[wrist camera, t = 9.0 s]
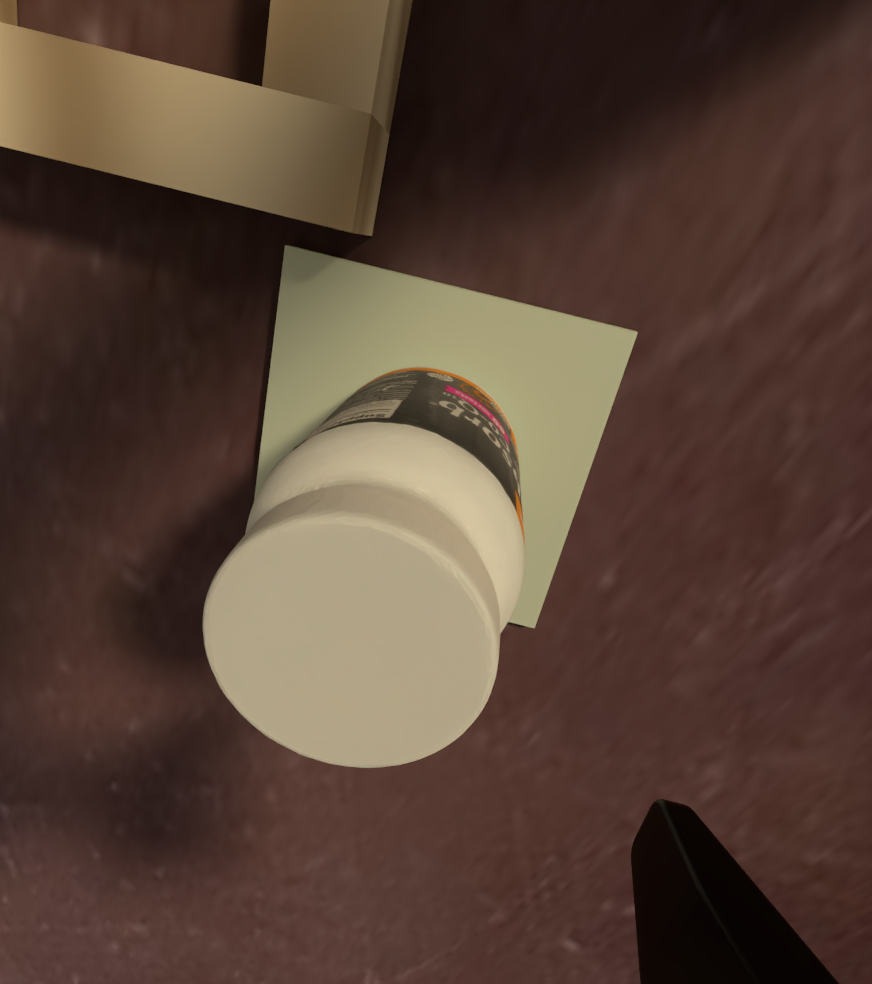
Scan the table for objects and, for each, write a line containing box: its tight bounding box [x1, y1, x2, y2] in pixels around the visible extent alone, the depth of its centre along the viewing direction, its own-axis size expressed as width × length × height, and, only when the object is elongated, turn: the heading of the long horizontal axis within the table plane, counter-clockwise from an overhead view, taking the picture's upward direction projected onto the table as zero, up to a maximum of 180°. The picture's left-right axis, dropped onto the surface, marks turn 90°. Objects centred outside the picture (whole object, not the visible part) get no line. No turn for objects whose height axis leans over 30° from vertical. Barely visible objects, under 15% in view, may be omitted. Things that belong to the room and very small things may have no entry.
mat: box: [254, 245, 638, 628], centre depth 19 cm, size 10×10×1 cm
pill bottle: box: [203, 367, 525, 768], centre depth 14 cm, size 6×6×10 cm
